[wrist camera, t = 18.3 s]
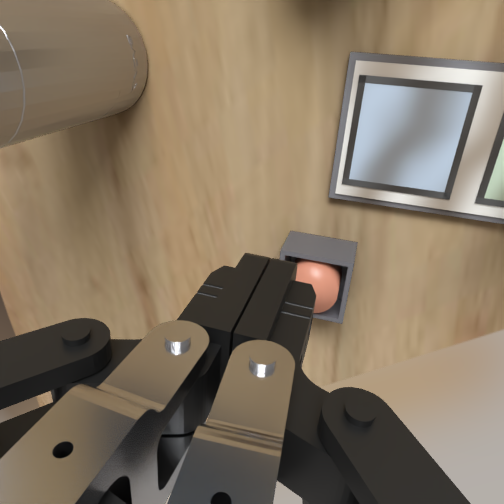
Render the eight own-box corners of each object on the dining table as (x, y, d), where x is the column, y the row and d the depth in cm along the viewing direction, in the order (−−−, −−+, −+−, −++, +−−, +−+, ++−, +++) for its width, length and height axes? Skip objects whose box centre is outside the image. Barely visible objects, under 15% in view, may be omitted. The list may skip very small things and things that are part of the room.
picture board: (329, 194, 36) (328, 198, 36) (351, 51, 31) (349, 52, 30) (597, 234, 32) (604, 240, 31) (674, 76, 27) (685, 77, 26)
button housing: (284, 286, 42) (274, 309, 38) (290, 230, 39) (280, 249, 36) (346, 299, 41) (342, 323, 37) (357, 242, 38) (353, 263, 34)
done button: (291, 287, 40) (283, 307, 37) (295, 245, 38) (287, 263, 35) (337, 296, 39) (333, 317, 36) (345, 254, 37) (341, 273, 34)
